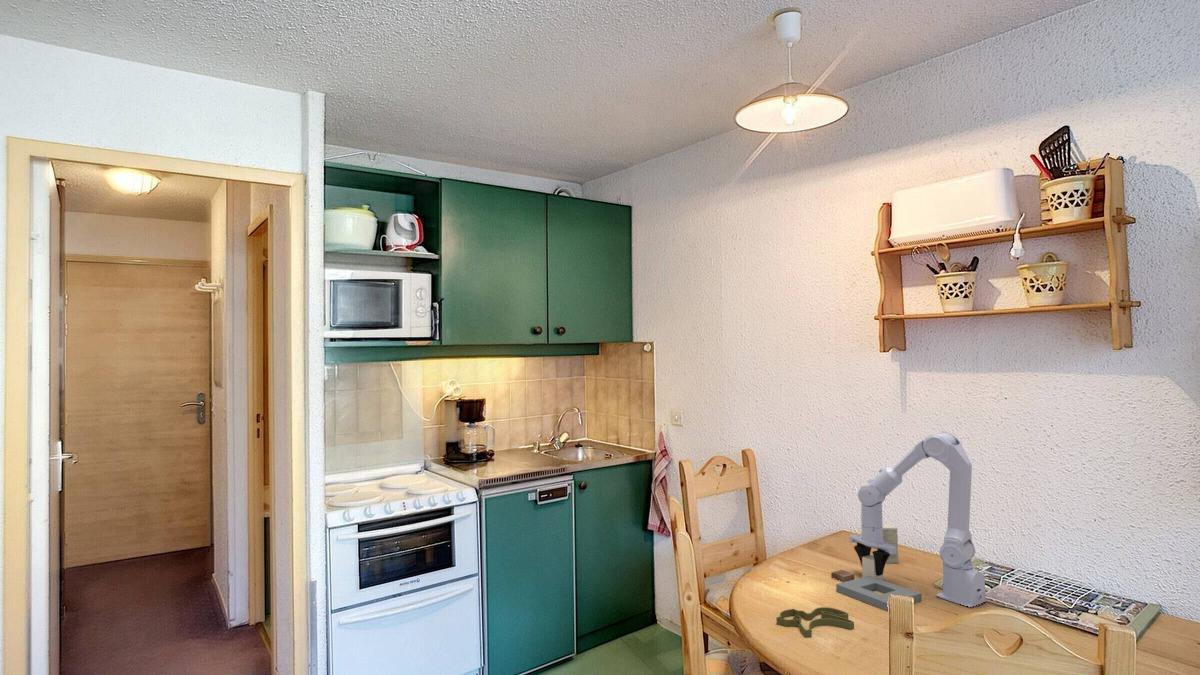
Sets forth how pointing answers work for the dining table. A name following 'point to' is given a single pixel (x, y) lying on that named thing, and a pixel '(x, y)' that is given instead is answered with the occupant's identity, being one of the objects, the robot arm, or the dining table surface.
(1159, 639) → the dining table surface
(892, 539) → the box
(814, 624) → the cookie cutter
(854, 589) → the board
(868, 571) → the peg
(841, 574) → the short block
